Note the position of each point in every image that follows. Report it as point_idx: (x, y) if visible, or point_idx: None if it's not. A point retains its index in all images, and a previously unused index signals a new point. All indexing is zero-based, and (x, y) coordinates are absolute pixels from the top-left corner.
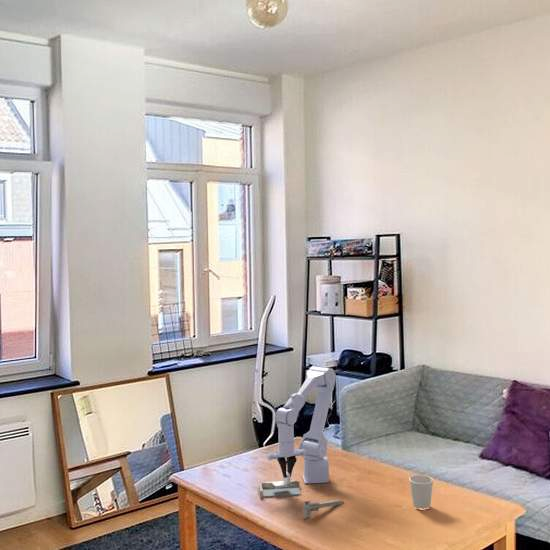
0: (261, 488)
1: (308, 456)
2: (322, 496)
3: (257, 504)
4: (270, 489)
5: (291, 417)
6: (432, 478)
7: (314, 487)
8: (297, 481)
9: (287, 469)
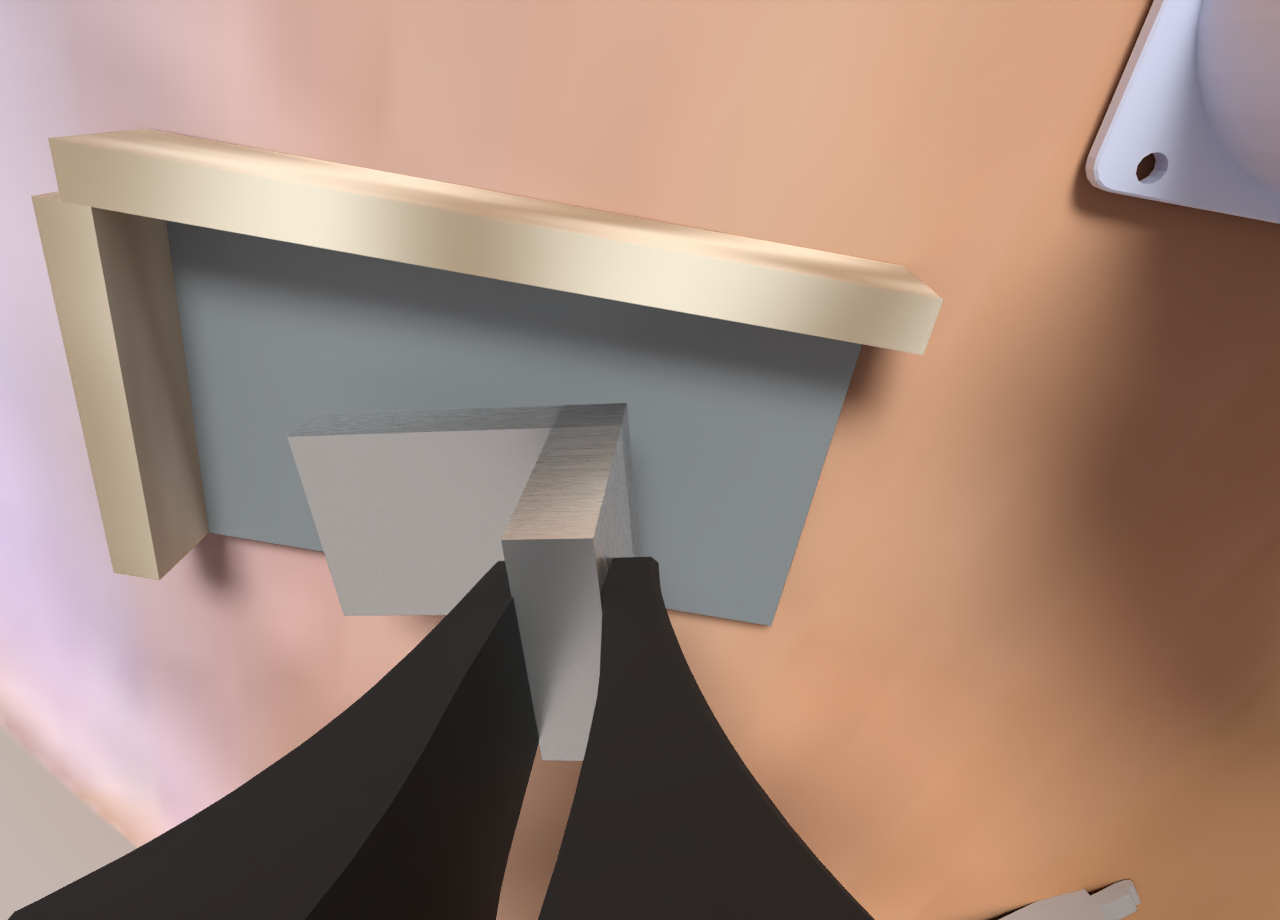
0: (124, 480)
1: None
2: (1023, 712)
3: (160, 673)
4: (333, 319)
5: None
6: None
7: (1131, 394)
8: (880, 342)
9: (602, 650)
